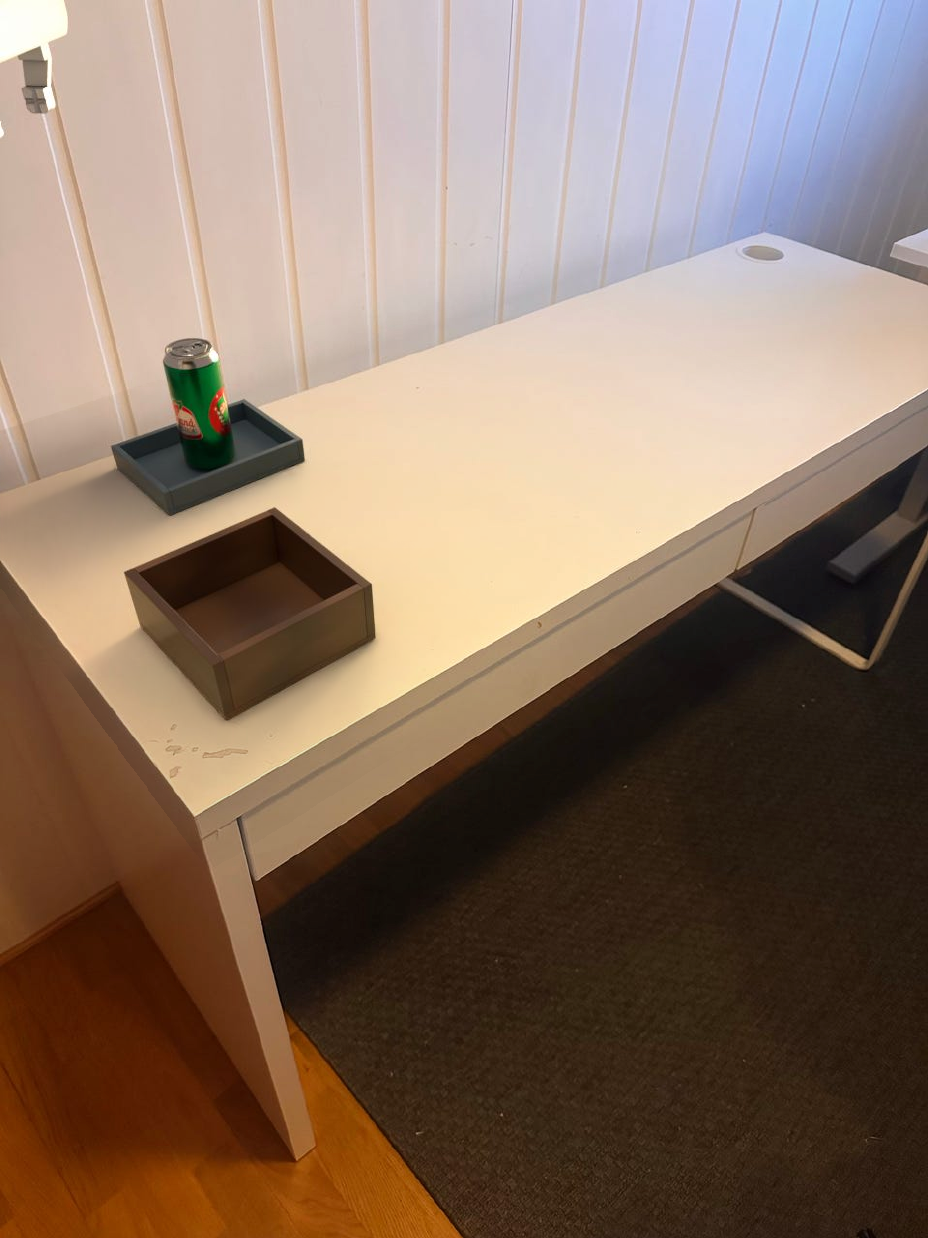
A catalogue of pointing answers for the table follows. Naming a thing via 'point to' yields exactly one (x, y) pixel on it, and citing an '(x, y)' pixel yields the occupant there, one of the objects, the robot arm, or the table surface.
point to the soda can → (199, 403)
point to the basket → (252, 609)
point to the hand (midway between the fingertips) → (17, 125)
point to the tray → (181, 486)
